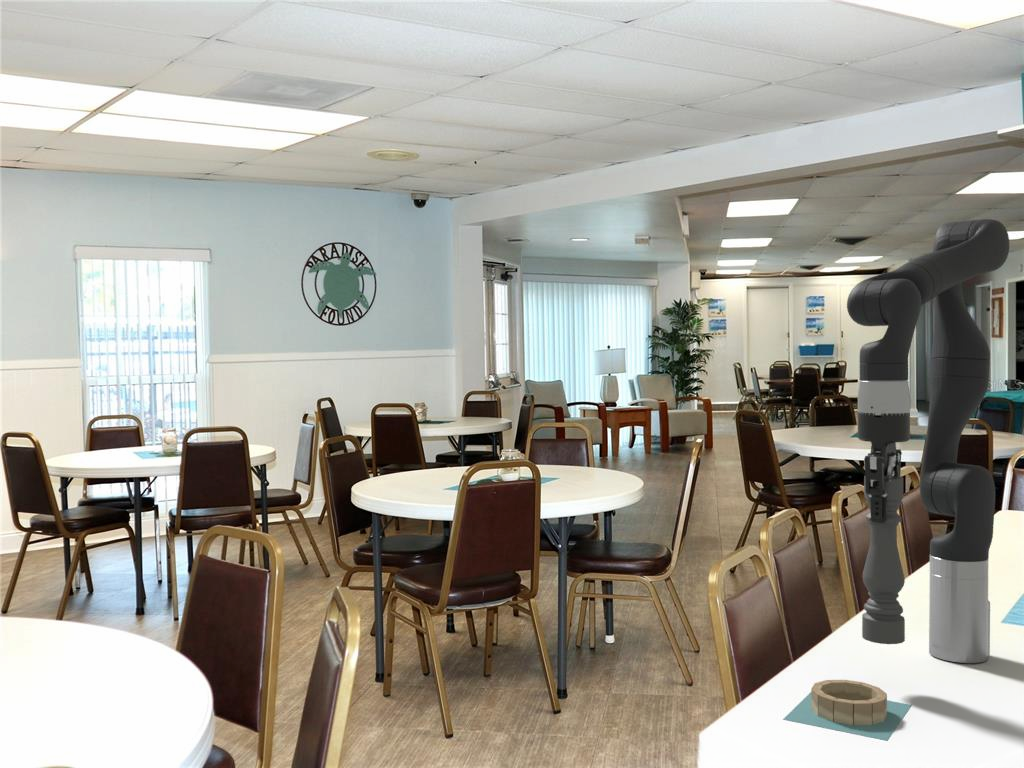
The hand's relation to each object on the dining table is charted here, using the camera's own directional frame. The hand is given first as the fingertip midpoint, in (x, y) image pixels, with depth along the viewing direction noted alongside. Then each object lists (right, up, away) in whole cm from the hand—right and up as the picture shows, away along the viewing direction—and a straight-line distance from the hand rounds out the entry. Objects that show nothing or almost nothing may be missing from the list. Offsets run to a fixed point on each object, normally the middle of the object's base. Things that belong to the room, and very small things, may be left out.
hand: (883, 518), depth 148 cm
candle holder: (0, -19, +1) cm, 19 cm away
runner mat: (-9, -27, -10) cm, 30 cm away
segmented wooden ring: (-9, -26, -10) cm, 30 cm away
